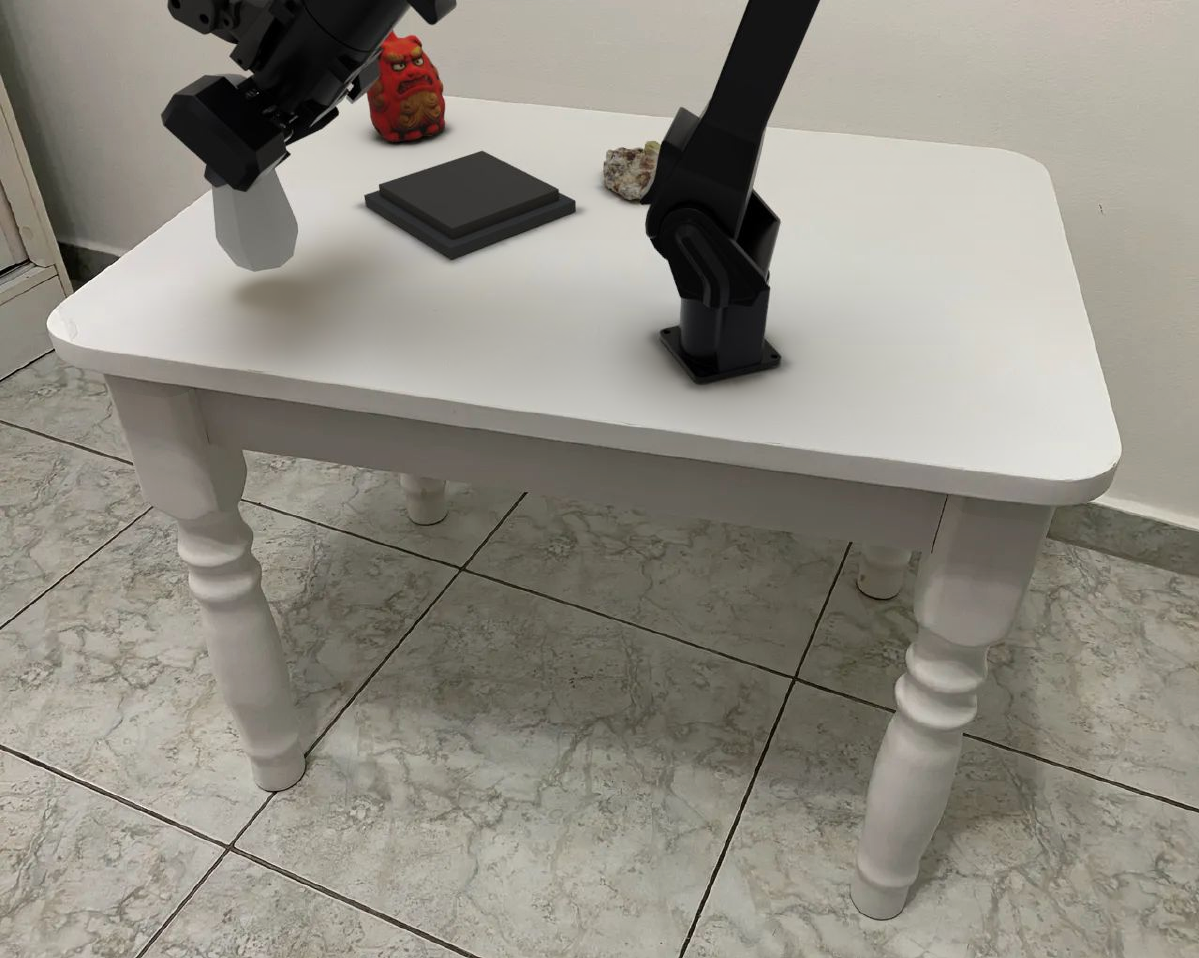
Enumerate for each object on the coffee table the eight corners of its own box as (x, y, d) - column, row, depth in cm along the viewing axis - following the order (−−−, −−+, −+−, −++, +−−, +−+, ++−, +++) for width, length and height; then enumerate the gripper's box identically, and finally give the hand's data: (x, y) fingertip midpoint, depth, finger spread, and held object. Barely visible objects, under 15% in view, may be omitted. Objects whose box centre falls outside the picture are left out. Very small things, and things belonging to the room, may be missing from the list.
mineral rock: (586, 174, 87) (614, 117, 91) (589, 213, 90) (616, 156, 94) (707, 195, 84) (731, 135, 88) (705, 234, 88) (728, 175, 92)
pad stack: (576, 211, 86) (575, 189, 85) (451, 259, 80) (449, 236, 79) (486, 165, 94) (484, 144, 93) (365, 205, 87) (361, 183, 86)
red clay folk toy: (396, 152, 96) (373, -17, 86) (356, 131, 100) (330, -33, 90) (460, 131, 100) (445, -33, 90) (420, 112, 104) (401, -47, 94)
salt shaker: (209, 258, 74) (157, 79, 66) (276, 232, 78) (235, 58, 69) (250, 285, 71) (201, 101, 63) (319, 257, 74) (281, 78, 66)
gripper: (307, -126, 65) (202, 40, 75) (140, -59, 52) (36, 134, 61) (434, 9, 69) (319, 152, 78) (310, 106, 55) (188, 265, 64)
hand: (224, 171), depth 70 cm, fingers closed on salt shaker, 3 cm apart
